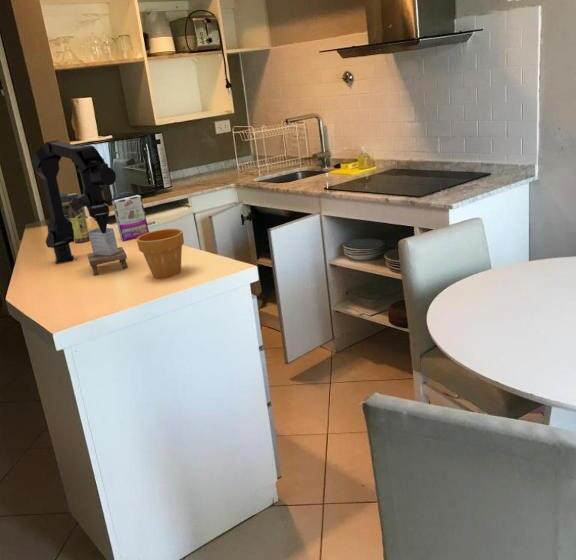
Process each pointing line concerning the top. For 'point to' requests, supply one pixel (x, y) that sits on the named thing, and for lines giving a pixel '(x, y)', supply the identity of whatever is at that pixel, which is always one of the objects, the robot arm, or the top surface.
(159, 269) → the flower pot
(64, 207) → the coffee jar
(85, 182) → the robot arm
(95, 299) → the top surface
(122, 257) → the small brown stool
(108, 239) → the medicine box
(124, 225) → the candy bar box
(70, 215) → the sauce bottle
